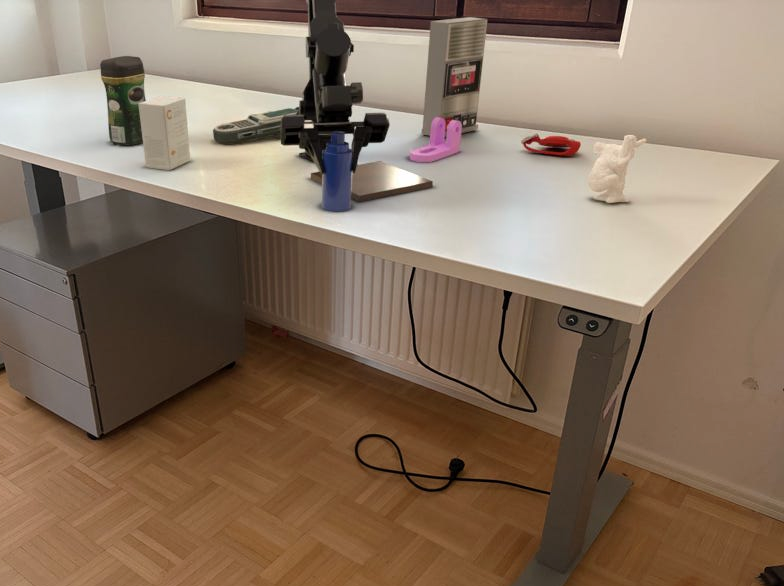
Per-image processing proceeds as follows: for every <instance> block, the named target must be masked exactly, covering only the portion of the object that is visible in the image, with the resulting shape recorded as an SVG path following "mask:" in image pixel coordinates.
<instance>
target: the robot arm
mask: <svg viewBox="0 0 784 586" xmlns="http://www.w3.org/2000/svg"><path fill="white" fill-rule="evenodd" d="M305 2H306V4H307V25H308V27H307V28H308V30H307V31H308V32H307V33H308V36H305V58H306V59H308V72H309V73H308V82H307V84H306V86H305V87H304V90H303V91H302V93H301V100H299V103H298V107H299V115H284V116H283V117H282V118H281V127H280V138H279V140H280V145H282V146H298V148H299V149H301V150H304V151H303V152H299V153H298V156H299V157H302V158H303V159H306V160H308V161H311V162H313V163H314V164H315V166H316V168H317V169H318V172H320V173H321V174H324V164H323V158H322V157H323V149H325V148H327V143H328V142H331V133H332V132H335V131H341V132H344V133H345V135H352V141H351V147H350V149H352V150H353V160H352V172H353V173H355V171H356V167H357V165H358V161H359V157H360V154H361V151H362V149H363V148H366V147H369V144H381V143H383V142H385V141H386V138H387V135H388V131H389V129H390V125H391V124H390V117H389V115H387V114H386V112H365V114H364V118H363V121H351V120H350V118H352V115H353V105H361V104H362V102H363V100H364V89H363V83H362V82H361V81H359V82H357V81H355V82H351V83H350V85H347V83H346V82H347V81H346V75H345V73H346V72H347V69H348V65H349V59H350V58H349V57H350V56H351V54H352V53H354V52H355V45H354V43H352V39H351V37H350V36H349V34H348V33H347V32H346V30H345V24H344V22H343V21H342V20H341V19H340V18H339V17H338V16H337V7H336V0H305Z"/></svg>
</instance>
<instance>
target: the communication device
mask: <svg viewBox="0 0 784 586" xmlns="http://www.w3.org/2000/svg"><path fill="white" fill-rule="evenodd" d="M284 115H299V106H296V107H295V108H291V107H288V108H282V109H276V110H269V111H266V112H261V113H251V114H250V115H248V116H247V117H246V119H241V120H236V121H230V122H225V123H221V124H219V125H216V126H215V127H214V128H213V129H212V134H213V135H212V136H213V140H215V141H216V142H217V143H218V144H221V145H232V144H233V145H234V144H238V143H244V142H249V141H254V140H258V139H262V138H263V139H264V138H268V137H271V136H274V137H276V138H278V139H280V127H281V118H282V117H283V116H284Z"/></svg>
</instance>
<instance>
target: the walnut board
mask: <svg viewBox="0 0 784 586" xmlns="http://www.w3.org/2000/svg"><path fill="white" fill-rule="evenodd" d="M310 180H312V181H314V182H316V183H318V184H320V185H322V174H321V173H320V171H315V172H310ZM433 183H434V181H433V180H430V179H428V178H425V177H424V176H420V175H417V174H415V173H412V172H410V171H408V170H405V169H402V168H399V167H397V166H394V165H392V164H389V163H386V162H384V161H383V160H382V161H381V160H377V161H371V162H366V163H360V164H357V167H356V171H355V173H353V172H352V193H351V200H354V201H356V202H359V203H362V202H367V201H372V200H376V199H381V198H386V197H387V198H388V197H392V196H396V195H397V196H398V195H401V194H405V193H406V194H407V193H412V192H416V191H420V190H421V191H422V190H426V189H430V188H433Z"/></svg>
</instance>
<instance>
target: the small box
mask: <svg viewBox="0 0 784 586" xmlns="http://www.w3.org/2000/svg"><path fill="white" fill-rule="evenodd" d="M138 105H139V113H140V121H141V130H142V138H143V142H142V147H143V153H144V154H143V155H144V162H145V167H146V168H149V169H158V170H165V171H172V170H173V169H176V168H178V167H180V166H182V165H184V164H187V163H189V162H191V151H190V150H191V149H190V141H189V140H190V139H189V127H188V115H187V114H188V113H187V105H186V98H184V97H176V96H165V95H160V96H157V97H153V98H150V99H148V100H146V101H144V102H141V103H138Z"/></svg>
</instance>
